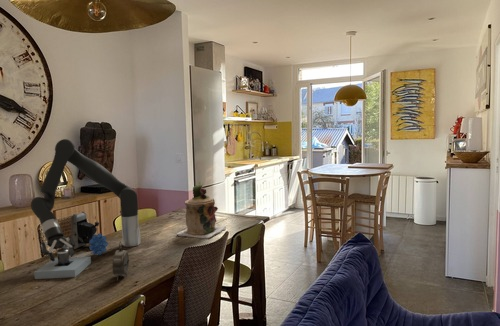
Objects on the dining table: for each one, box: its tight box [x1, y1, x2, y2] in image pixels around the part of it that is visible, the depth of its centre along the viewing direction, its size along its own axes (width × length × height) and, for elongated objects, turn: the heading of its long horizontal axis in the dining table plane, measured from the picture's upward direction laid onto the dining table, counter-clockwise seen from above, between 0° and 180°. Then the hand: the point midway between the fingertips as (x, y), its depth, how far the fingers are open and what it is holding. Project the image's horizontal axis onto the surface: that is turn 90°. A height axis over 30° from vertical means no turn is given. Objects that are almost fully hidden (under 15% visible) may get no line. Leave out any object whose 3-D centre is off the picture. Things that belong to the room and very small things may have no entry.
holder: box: [33, 256, 92, 280], centre depth 174 cm, size 18×18×3 cm
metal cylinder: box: [56, 248, 70, 266], centre depth 174 cm, size 5×5×10 cm
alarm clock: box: [112, 241, 130, 282], centre depth 163 cm, size 11×5×16 cm, turn 5°
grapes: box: [89, 233, 109, 256], centre depth 196 cm, size 12×7×12 cm, turn 72°
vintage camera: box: [70, 211, 100, 250], centre depth 211 cm, size 10×16×20 cm, turn 78°
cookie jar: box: [176, 181, 227, 240], centre depth 232 cm, size 25×25×32 cm
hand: (63, 258), depth 174 cm, fingers open, 8 cm apart
